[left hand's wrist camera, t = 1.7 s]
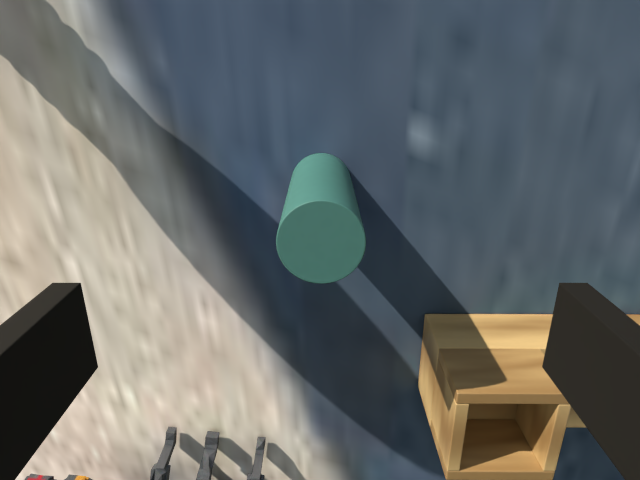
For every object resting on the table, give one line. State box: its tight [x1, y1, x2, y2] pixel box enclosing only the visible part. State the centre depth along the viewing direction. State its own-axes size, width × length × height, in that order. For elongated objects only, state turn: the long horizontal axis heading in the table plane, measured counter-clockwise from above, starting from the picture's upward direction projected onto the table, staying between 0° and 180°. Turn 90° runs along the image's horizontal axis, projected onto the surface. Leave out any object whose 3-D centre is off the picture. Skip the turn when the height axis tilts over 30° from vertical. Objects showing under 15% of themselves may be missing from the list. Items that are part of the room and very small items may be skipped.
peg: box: [276, 153, 366, 284], centre depth 23 cm, size 4×4×10 cm
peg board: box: [418, 314, 640, 480], centre depth 28 cm, size 6×24×8 cm, turn 90°
